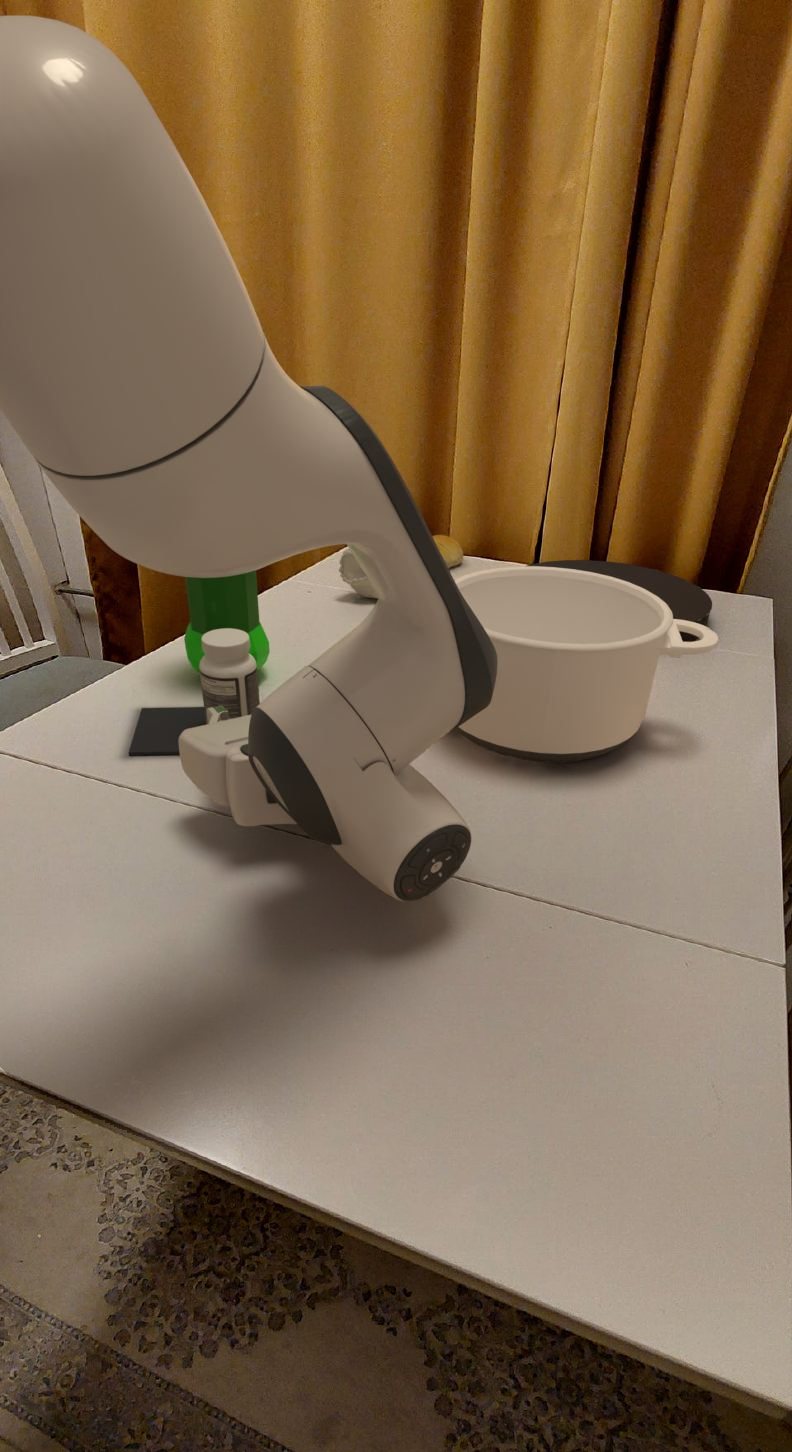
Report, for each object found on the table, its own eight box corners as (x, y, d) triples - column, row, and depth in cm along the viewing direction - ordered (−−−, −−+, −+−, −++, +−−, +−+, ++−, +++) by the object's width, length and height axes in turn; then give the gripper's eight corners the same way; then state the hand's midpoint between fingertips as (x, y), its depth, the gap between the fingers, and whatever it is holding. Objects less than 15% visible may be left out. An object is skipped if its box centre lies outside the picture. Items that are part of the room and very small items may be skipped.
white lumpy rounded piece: (333, 596, 121) (393, 584, 132) (396, 614, 116) (453, 600, 127) (337, 530, 116) (399, 523, 127) (403, 545, 111) (462, 537, 122)
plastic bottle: (169, 685, 97) (135, 446, 82) (215, 653, 105) (192, 429, 90) (246, 701, 94) (226, 457, 79) (287, 666, 102) (276, 439, 87)
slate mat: (128, 755, 84) (128, 752, 83) (142, 711, 91) (141, 707, 91) (329, 751, 86) (329, 748, 85) (325, 708, 94) (325, 704, 93)
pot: (675, 692, 100) (705, 576, 92) (707, 794, 81) (748, 660, 73) (400, 669, 103) (404, 554, 94) (371, 762, 84) (373, 630, 76)
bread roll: (397, 562, 137) (398, 536, 135) (436, 552, 142) (437, 527, 140) (432, 574, 132) (434, 548, 130) (471, 564, 137) (473, 538, 135)
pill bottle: (240, 710, 92) (232, 621, 85) (272, 728, 88) (266, 638, 82) (195, 726, 88) (184, 634, 82) (227, 746, 85) (218, 652, 79)
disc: (494, 642, 111) (496, 619, 109) (498, 572, 134) (500, 553, 133) (725, 660, 108) (732, 637, 107) (688, 585, 132) (693, 566, 130)
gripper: (436, 707, 72) (357, 651, 81) (213, 763, 63) (152, 693, 73) (432, 771, 76) (357, 710, 85) (220, 832, 67) (162, 757, 76)
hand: (261, 703), depth 79 cm, fingers open, 8 cm apart
